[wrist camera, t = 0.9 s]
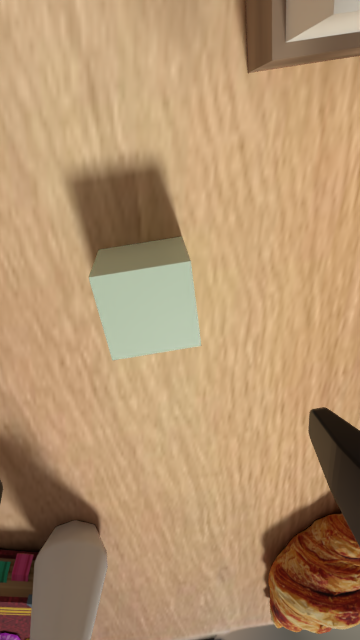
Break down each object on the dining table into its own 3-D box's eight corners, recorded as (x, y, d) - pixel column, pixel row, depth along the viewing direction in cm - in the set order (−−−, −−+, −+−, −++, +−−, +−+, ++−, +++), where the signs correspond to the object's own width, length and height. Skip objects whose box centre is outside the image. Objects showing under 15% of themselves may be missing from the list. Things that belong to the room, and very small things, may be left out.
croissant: (283, 569, 45) (334, 640, 39) (226, 614, 39) (277, 704, 33) (367, 462, 35) (450, 538, 29) (307, 501, 29) (398, 604, 23)
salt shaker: (57, 507, 29) (3, 753, 17) (120, 522, 30) (110, 754, 19) (32, 546, 31) (-30, 789, 19) (93, 558, 32) (69, 787, 21)
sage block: (181, 235, 19) (190, 261, 15) (191, 309, 21) (201, 345, 17) (98, 248, 18) (88, 277, 15) (117, 321, 21) (112, 360, 17)
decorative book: (-53, 618, 36) (-80, 685, 32) (-50, 530, 29) (-83, 601, 25) (57, 621, 39) (47, 684, 35) (85, 541, 32) (76, 607, 28)
